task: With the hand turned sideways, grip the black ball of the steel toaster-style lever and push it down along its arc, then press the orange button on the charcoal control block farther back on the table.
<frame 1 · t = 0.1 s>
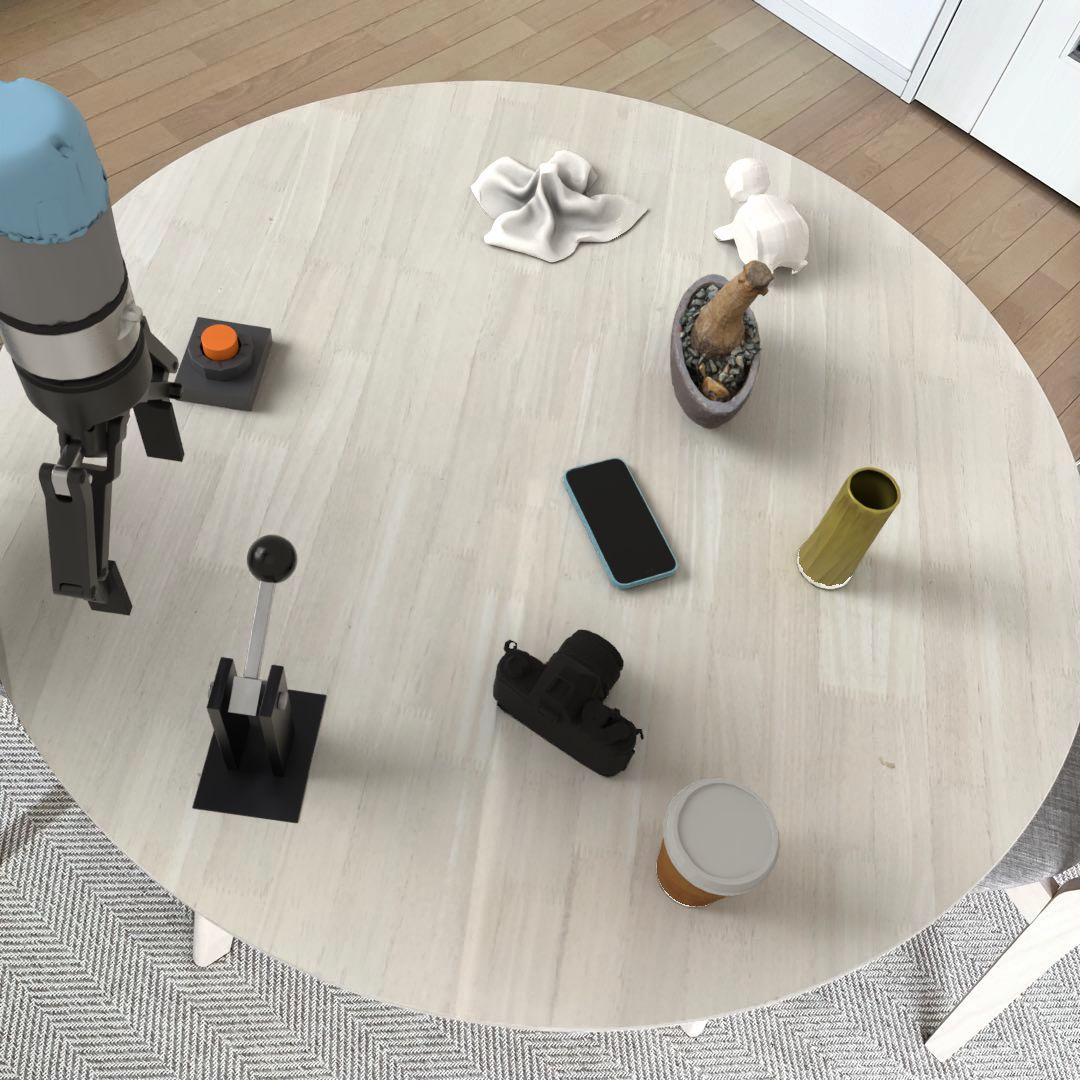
hand: (140, 529, 84), 24 cm above the table, tool pointing down, fingers open, 13 cm apart
vase: (823, 566, 119), on the table
control block: (225, 370, 122), on the table
smartphone: (617, 525, 118), on the table
disposable coffee cup: (690, 872, 100), on the table
planter: (698, 390, 129), on the table
white figurine: (751, 245, 143), on the table
bracket: (262, 754, 101), on the table
film camera: (570, 706, 107), on the table
button: (220, 342, 119), point 4 cm above the table, slide at 0.1 cm
lever: (260, 623, 90), point 15 cm above the table, hinge at 25.0°
cloth: (556, 206, 142), on the table
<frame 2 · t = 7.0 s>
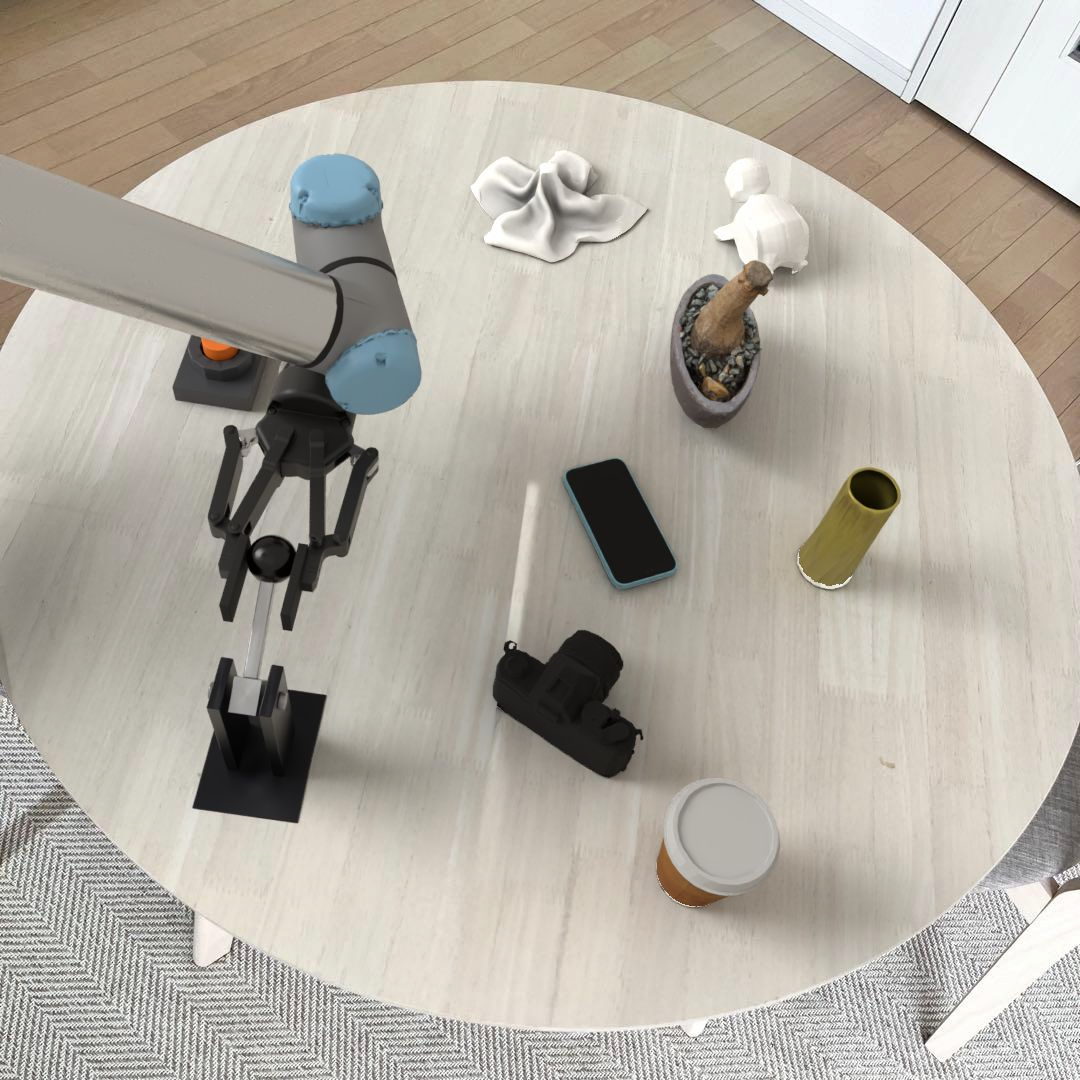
hand: (256, 617, 88), 18 cm above the table, tool horizontal, fingers closed on lever, 4 cm apart
lever: (260, 623, 90), point 15 cm above the table, hinge at 25.0°, touching gripper
everything else where it was.
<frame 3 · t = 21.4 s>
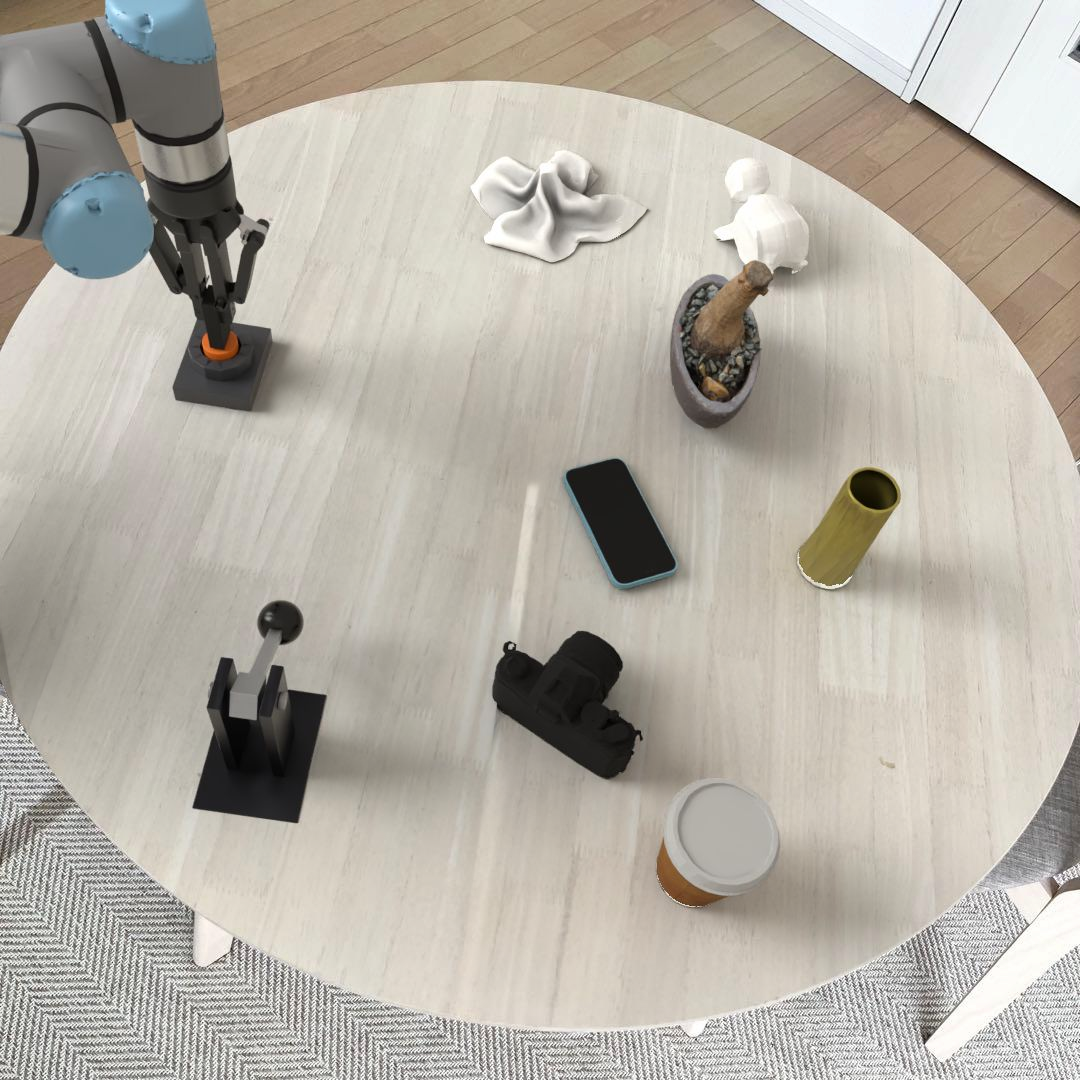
hand: (220, 339, 118), 5 cm above the table, tool pointing down, fingers closed
button: (220, 346, 119), point 4 cm above the table, slide at -0.5 cm, touching gripper
lever: (266, 655, 95), point 10 cm above the table, hinge at -30.4°
everything else where it was.
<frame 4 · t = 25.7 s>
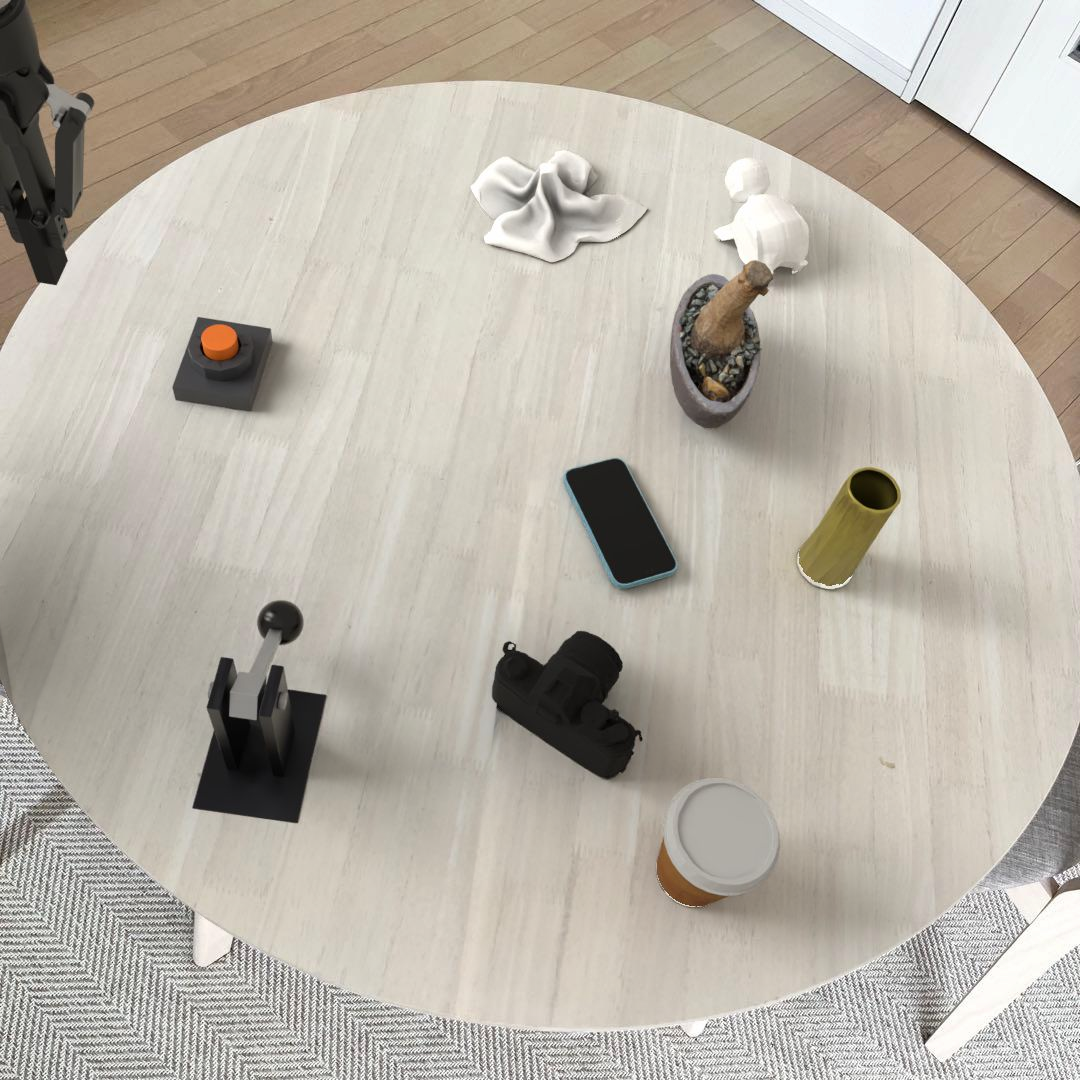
hand: (52, 271, 89), 29 cm above the table, tool pointing down, fingers closed
button: (220, 342, 119), point 4 cm above the table, slide at 0.1 cm
everything else where it was.
at the end: lever at -30° (first picture: +25°); button pushed in 1.0 cm at the most during the clip, back to where it started at the end; button slide at 0.1 cm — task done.
